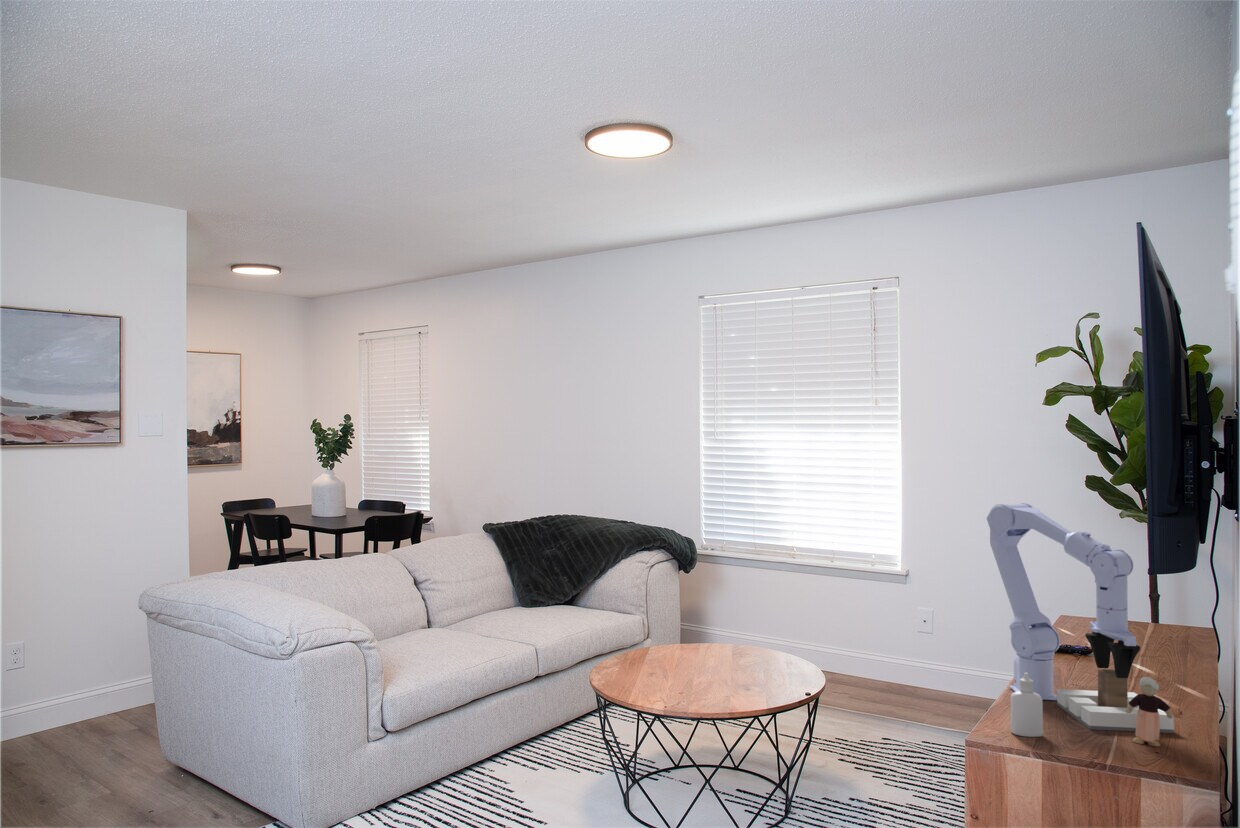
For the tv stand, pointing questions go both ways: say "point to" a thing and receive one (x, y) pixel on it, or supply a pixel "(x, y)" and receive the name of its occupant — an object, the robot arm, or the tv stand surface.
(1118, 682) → the walnut pin
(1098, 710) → the socket block
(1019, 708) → the eye dropper bottle
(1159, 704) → the grandmother figurine
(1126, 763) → the tv stand surface
